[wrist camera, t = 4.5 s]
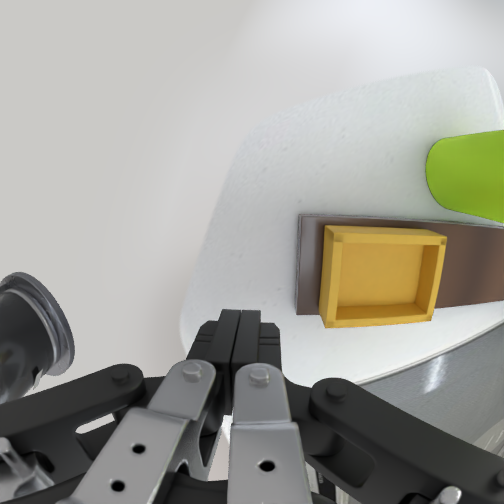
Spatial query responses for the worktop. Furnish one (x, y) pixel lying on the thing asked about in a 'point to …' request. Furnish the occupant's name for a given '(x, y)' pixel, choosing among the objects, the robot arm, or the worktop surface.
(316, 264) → the board
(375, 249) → the tray
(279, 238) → the worktop surface
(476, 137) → the soap dispenser
